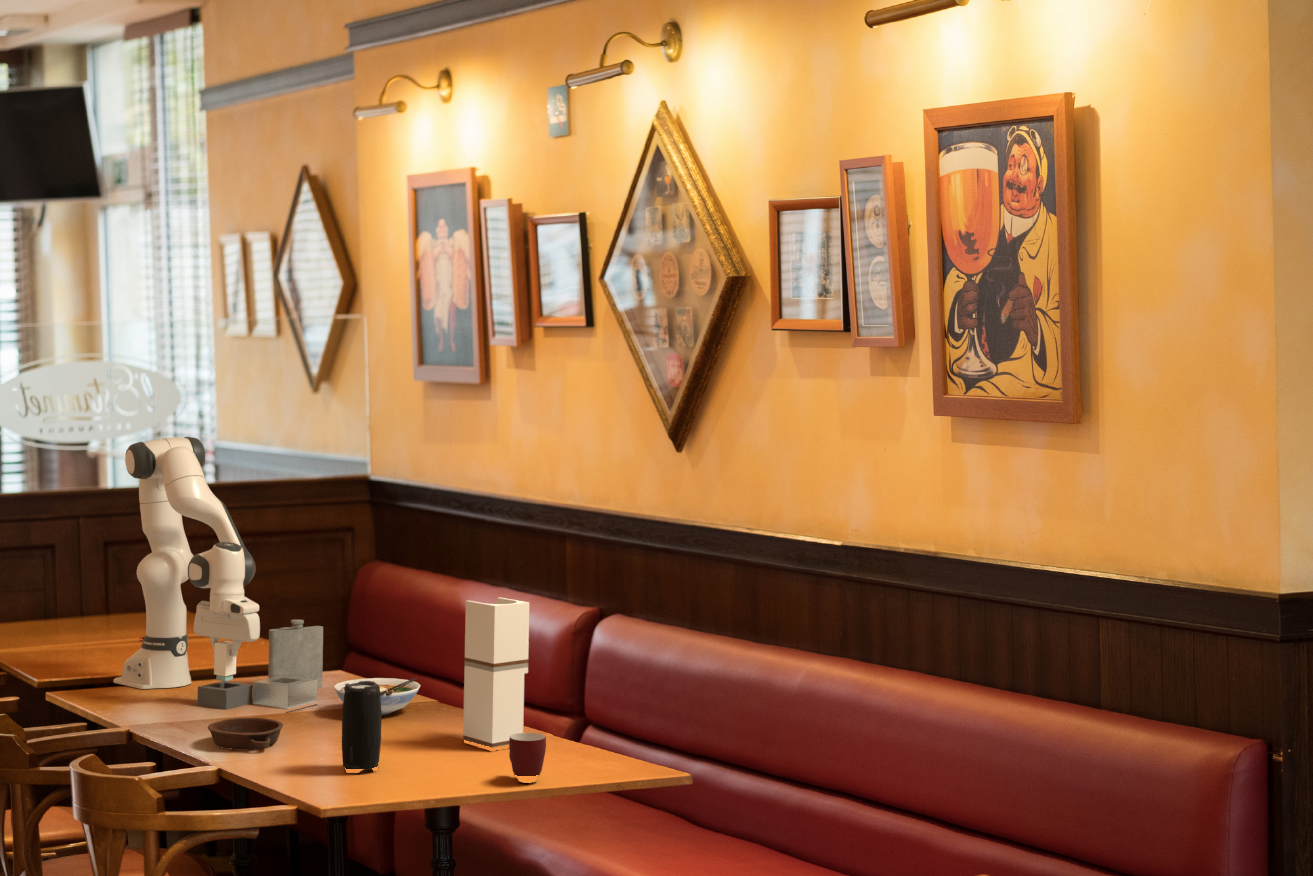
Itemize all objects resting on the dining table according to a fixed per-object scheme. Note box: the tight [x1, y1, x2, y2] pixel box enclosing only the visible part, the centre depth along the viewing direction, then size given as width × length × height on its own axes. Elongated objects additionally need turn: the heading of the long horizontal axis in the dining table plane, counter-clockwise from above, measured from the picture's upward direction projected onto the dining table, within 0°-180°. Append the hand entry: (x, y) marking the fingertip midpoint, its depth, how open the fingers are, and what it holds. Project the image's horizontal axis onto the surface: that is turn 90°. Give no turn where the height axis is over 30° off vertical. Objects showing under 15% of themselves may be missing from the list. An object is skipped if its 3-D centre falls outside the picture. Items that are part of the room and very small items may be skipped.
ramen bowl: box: [333, 677, 421, 717], centre depth 396 cm, size 25×23×8 cm
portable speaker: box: [341, 681, 382, 770], centre depth 335 cm, size 9×9×20 cm
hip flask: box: [267, 619, 324, 689], centre depth 425 cm, size 16×4×20 cm, turn 125°
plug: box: [213, 640, 237, 682], centre depth 398 cm, size 4×4×10 cm
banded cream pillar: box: [462, 597, 530, 748], centre depth 362 cm, size 11×11×35 cm
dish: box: [207, 717, 284, 750], centre depth 357 cm, size 18×22×5 cm
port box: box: [252, 675, 318, 714], centre depth 402 cm, size 12×12×7 cm
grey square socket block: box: [196, 680, 253, 711], centre depth 398 cm, size 10×10×6 cm
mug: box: [508, 732, 547, 776], centre depth 329 cm, size 11×8×10 cm
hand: (225, 655), depth 398 cm, fingers closed on plug, 4 cm apart
